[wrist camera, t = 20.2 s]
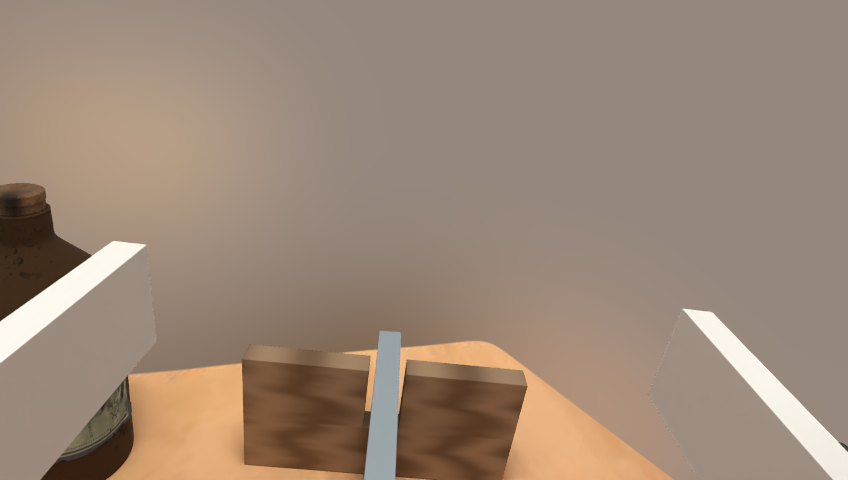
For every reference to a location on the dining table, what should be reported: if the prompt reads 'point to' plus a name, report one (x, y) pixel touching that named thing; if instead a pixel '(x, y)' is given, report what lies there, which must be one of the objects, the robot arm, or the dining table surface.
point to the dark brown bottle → (26, 278)
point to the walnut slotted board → (349, 422)
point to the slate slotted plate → (384, 410)
